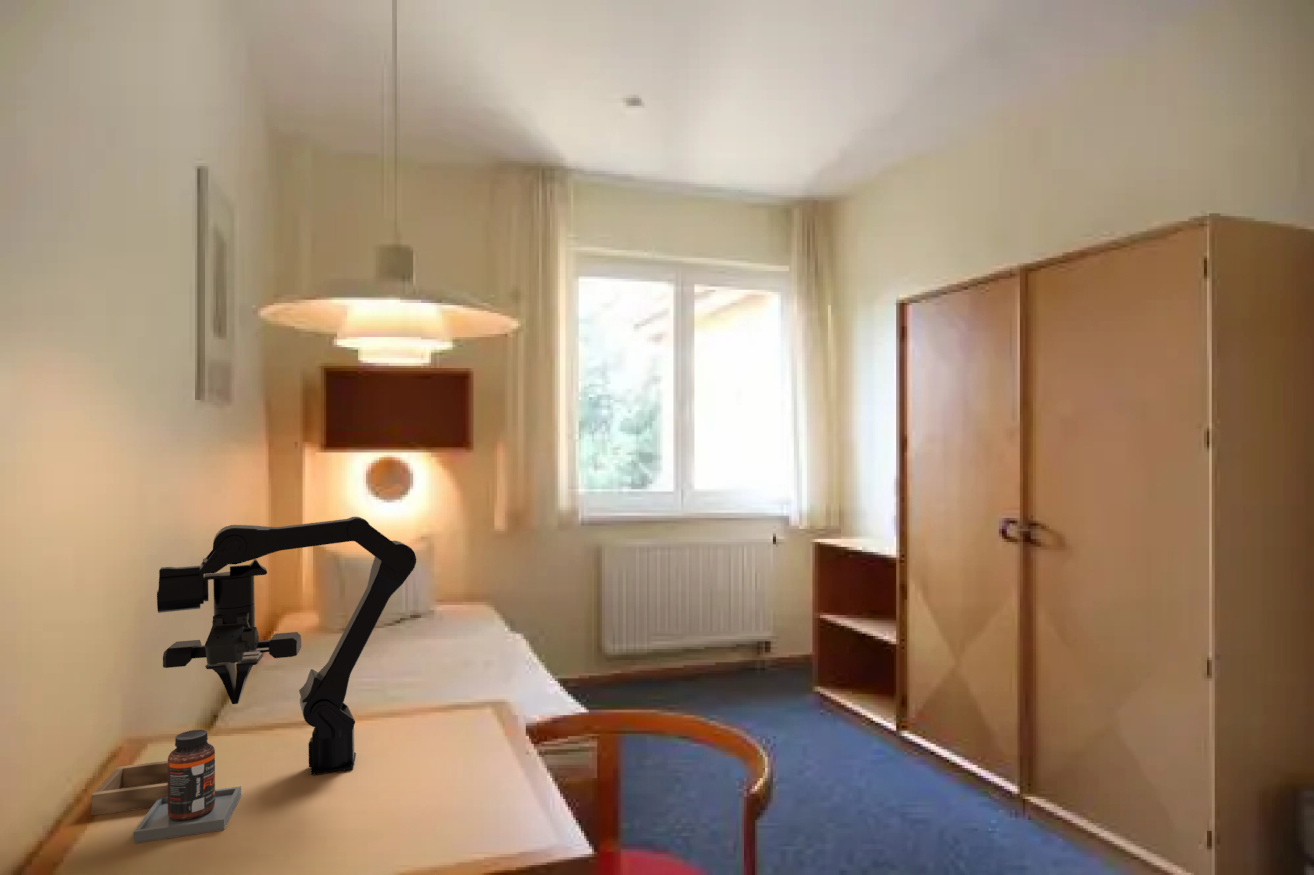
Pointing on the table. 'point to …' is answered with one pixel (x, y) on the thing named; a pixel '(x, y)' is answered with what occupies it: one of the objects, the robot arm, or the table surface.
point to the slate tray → (166, 827)
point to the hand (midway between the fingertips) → (235, 703)
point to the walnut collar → (133, 798)
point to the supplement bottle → (191, 776)
